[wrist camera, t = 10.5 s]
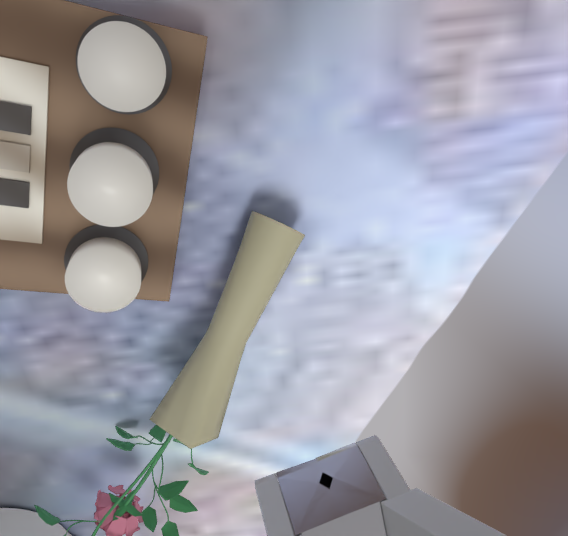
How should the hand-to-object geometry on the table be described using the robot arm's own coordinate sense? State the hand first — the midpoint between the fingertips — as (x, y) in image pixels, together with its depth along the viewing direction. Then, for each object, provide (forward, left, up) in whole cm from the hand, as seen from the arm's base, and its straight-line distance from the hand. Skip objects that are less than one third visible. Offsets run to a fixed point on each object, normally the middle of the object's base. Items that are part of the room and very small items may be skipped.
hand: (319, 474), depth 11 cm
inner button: (-7, +6, -27) cm, 28 cm away
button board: (0, +8, -31) cm, 32 cm away
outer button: (+7, +6, -27) cm, 28 cm away
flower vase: (-19, -1, -31) cm, 36 cm away
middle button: (0, +6, -25) cm, 26 cm away
